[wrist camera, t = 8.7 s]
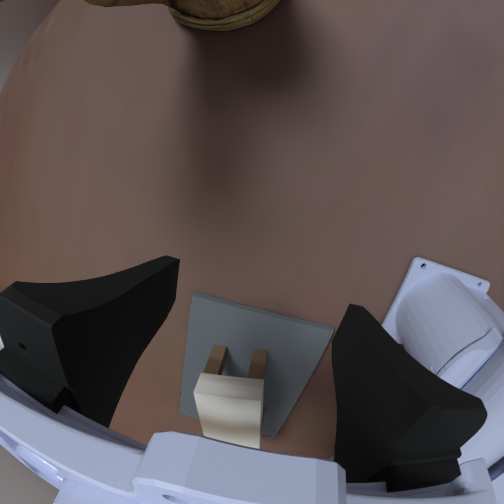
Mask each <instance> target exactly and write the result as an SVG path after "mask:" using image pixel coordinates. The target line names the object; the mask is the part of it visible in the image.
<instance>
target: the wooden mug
mask: <svg viewBox="0 0 504 504" xmlns="http://www.w3.org/2000/svg"><path fill="white" fill-rule="evenodd" d="M1 1H4V0H0V2H1ZM84 1H86V2H87V3H89V4H93V5H99V6H104V7H112V6H131V5H139V4H149V3H157V4H164V5H166V6H167V8H168V10H169V12H170V14H171V15H172V16H173V18H174V19H175V20H177V21H178V22H180V23H181V24H184V25H187V26H190V27H193V28H197V29H204V30H210V31H230V30H233V29H237V28H240V27H244V26H247V25H251V24H253V23H255V22H256V21H258V20H259V19H260V18H262V17H264V16H265V15H267V14H268V13H269V12H271V11H272V10H273V9H274V8H275V6H276V5H277V4H278V3H279V2H280V0H84Z"/></svg>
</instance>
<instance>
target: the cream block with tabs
mask: <svg viewBox="0 0 504 504" xmlns="http://www.w3.org/2000/svg"><path fill="white" fill-rule="evenodd" d="M226 359H227V346H218V345H213V347H212V350H211V353H210V355H209V358H208V361H207V363H206V366H205V369H204V371H203V373H201V374H200V376H199V379H198V382H197V384H196V387H195V389H194V392H193V393H194V397H195V402H196V406H197V410H198V414H199V418H200V422H201V426H202V430H203V434H204V436H206V437H210V438H214V439H217V440H221V441H225V442H230V443H234V444H238V445H243V446H248V447H252V448H258V449H261V442H262V427H263V420H264V413H265V406H263V393H264V376H265V369H266V362H267V350H262V349H253V354H252V358H251V363H250V368H249V373H248V378H240V377H231V376H223V375H222V372H223V368H224V365H225V362H226Z"/></svg>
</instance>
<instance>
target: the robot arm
mask: <svg viewBox="0 0 504 504" xmlns="http://www.w3.org/2000/svg"><path fill="white" fill-rule="evenodd" d="M179 262H180V259H177V258H174V257H170V256H167V255H166V256H162V257H159V258H156V259H154V260H151V261H148V262H146V263H143V264H140V265H138V266H135V267H132V268H129V269H126V270H123V271H120V272H117V273H114V274H110V275H106V276H102V277H98V278H93V279H88V280H81V281H73V282H63V283H31V282H18V281H16V282H14V283H13V284H11V285H10V286H9V287H7V288H6V289H5V290H3V291H2V292H1V293H0V337H1V340H2V342H3V345H4V348H2V349H1V350H0V444H1V445H2V446H3V447H4V448H5V449H6V450H8V451H9V452H10V453H11V454H12V455H13V456H15V457H16V458H17V459H18V460H19V461H21V462H22V463H23V464H24V465H26V466H27V467H28V468H30V469H31V470H32V471H33V472H35V473H36V474H38V475H39V476H40V477H42V478H43V479H44V480H46V481H47V482H49V483H50V484H51V485H53V486H54V487H56V488H57V489H59V490H60V491H59V493H58V495H57V497H56V499H55V501H54V503H53V504H504V313H503V312H502V310H501V309H500V308H499V307H498V306H497V305H496V304H495V303H494V302H493V300H492V299H491V298H490V297H489V296H488V295H487V294H486V293H487V291H488V289H489V286H490V284H489V282H488V281H487V280H484V279H481V278H478V277H476V276H473V275H470V274H467V273H464V272H462V271H459V270H456V269H453V268H450V267H447V266H444V265H441V264H438V263H435V262H432V261H429V260H426V259H423V258H420V257H416V258H415V259H413V261H412V263H411V265H410V268H409V270H408V272H407V274H406V276H405V279H404V281H403V283H402V285H401V287H400V289H399V291H398V293H397V296H396V298H395V300H394V302H393V304H392V306H391V308H390V309H389V311H388V313H387V315H386V317H385V319H384V321H383V323H382V325H380V323H379V322H378V321H377V320H376V319H375V318H374V317H373V316H372V315H371V314H370V313H369V312H368V311H367V310H366V309H365V308H364V307H362V306H358V305H354V304H349V306H348V308H347V311H346V313H345V315H344V317H343V319H342V321H341V323H340V326H339V328H338V330H337V332H336V334H335V336H334V338H333V340H332V367H333V376H334V384H335V392H336V401H337V430H336V443H335V453H334V460H333V461H332V460H327V459H322V458H318V457H313V456H303V455H295V454H288V453H281V452H275V451H269V450H263V449H258V448H252V447H248V446H243V445H238V444H234V443H230V442H225V441H221V440H217V439H214V438H210V437H206V436H203V435H199V434H193V433H187V432H182V431H177V430H175V431H166V432H158V433H154V435H153V436H152V438H151V439H150V441H149V443H148V445H146V444H144V443H141V442H138V441H136V440H134V439H131V438H129V437H126V436H124V435H122V434H120V433H117V432H115V431H113V430H111V429H109V425H110V422H111V420H112V417H113V414H114V412H115V409H116V407H117V404H118V402H119V400H120V397H121V395H122V393H123V390H124V388H125V386H126V384H127V382H128V379H129V377H130V375H131V373H132V371H133V369H134V367H135V365H136V363H137V361H138V360H139V358H140V356H141V355H142V353H143V352H144V350H145V349H146V347H147V346H148V344H149V343H150V341H151V340H152V338H153V337H154V336H155V334H156V333H157V331H158V330H159V328H160V327H161V325H162V324H163V322H164V321H165V319H166V318H167V316H168V314H169V312H170V310H171V308H172V306H173V304H174V302H175V299H176V289H177V280H178V271H179ZM423 263H425V264H424V266H423V267H421V265H422V264H423ZM478 284H479V285H478ZM398 343H399V344H403V345H404V348H405V350H406V351H405V350H404V349H403V348H402V347H401V346H400V345H399V344H398Z"/></svg>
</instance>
